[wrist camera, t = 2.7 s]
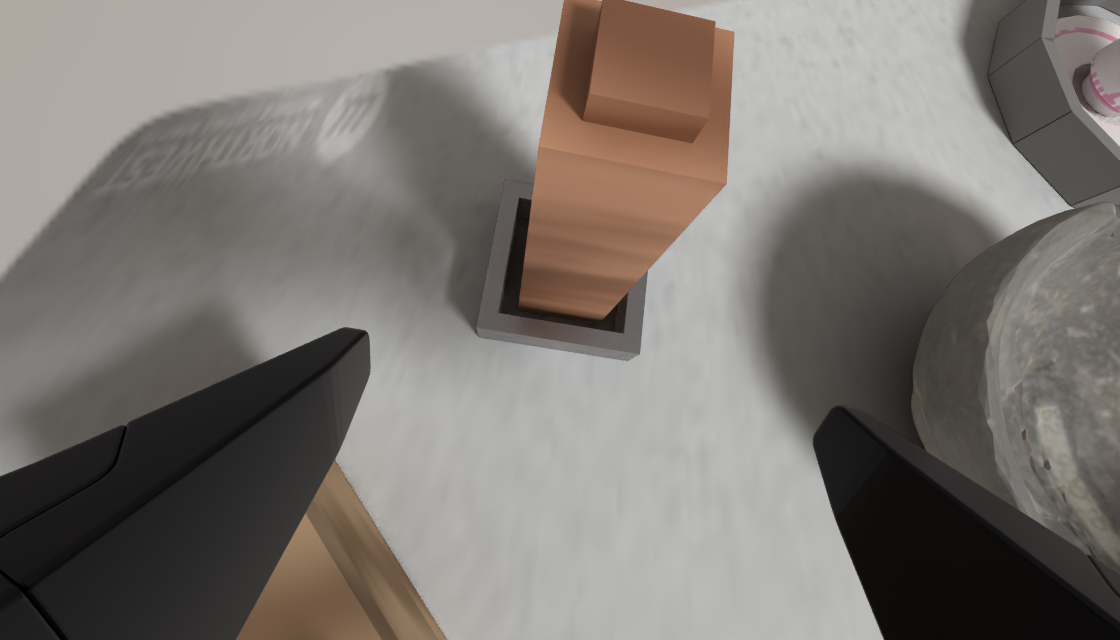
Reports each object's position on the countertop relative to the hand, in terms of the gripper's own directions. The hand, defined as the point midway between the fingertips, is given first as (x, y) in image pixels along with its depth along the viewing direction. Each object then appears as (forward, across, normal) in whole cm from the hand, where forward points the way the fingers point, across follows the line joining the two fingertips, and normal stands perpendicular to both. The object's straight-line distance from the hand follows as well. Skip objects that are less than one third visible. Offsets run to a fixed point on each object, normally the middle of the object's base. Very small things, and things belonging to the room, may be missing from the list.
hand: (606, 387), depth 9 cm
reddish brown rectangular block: (+14, 0, +4) cm, 14 cm away
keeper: (+14, 0, +4) cm, 14 cm away
